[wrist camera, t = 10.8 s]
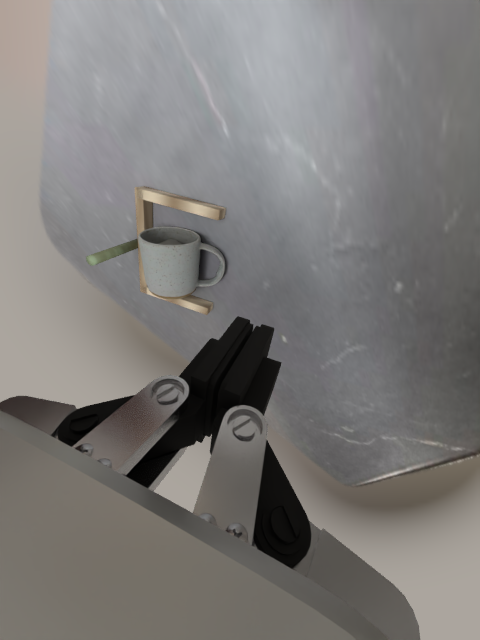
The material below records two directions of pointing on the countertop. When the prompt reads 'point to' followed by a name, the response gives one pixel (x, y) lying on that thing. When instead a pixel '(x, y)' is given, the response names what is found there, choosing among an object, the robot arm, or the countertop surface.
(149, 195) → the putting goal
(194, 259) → the ceramic mug
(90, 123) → the countertop surface
